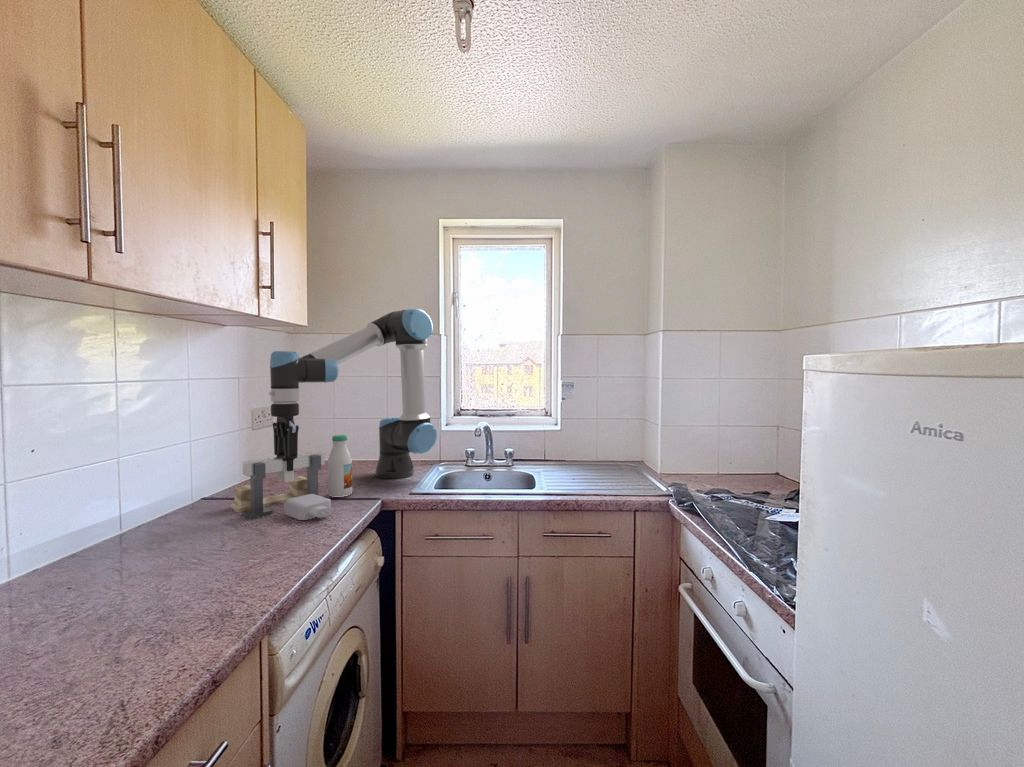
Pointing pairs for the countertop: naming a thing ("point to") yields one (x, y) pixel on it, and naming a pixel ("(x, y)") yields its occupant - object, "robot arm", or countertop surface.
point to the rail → (280, 463)
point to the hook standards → (257, 488)
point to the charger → (307, 507)
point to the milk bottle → (339, 468)
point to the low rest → (244, 497)
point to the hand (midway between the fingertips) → (285, 480)
